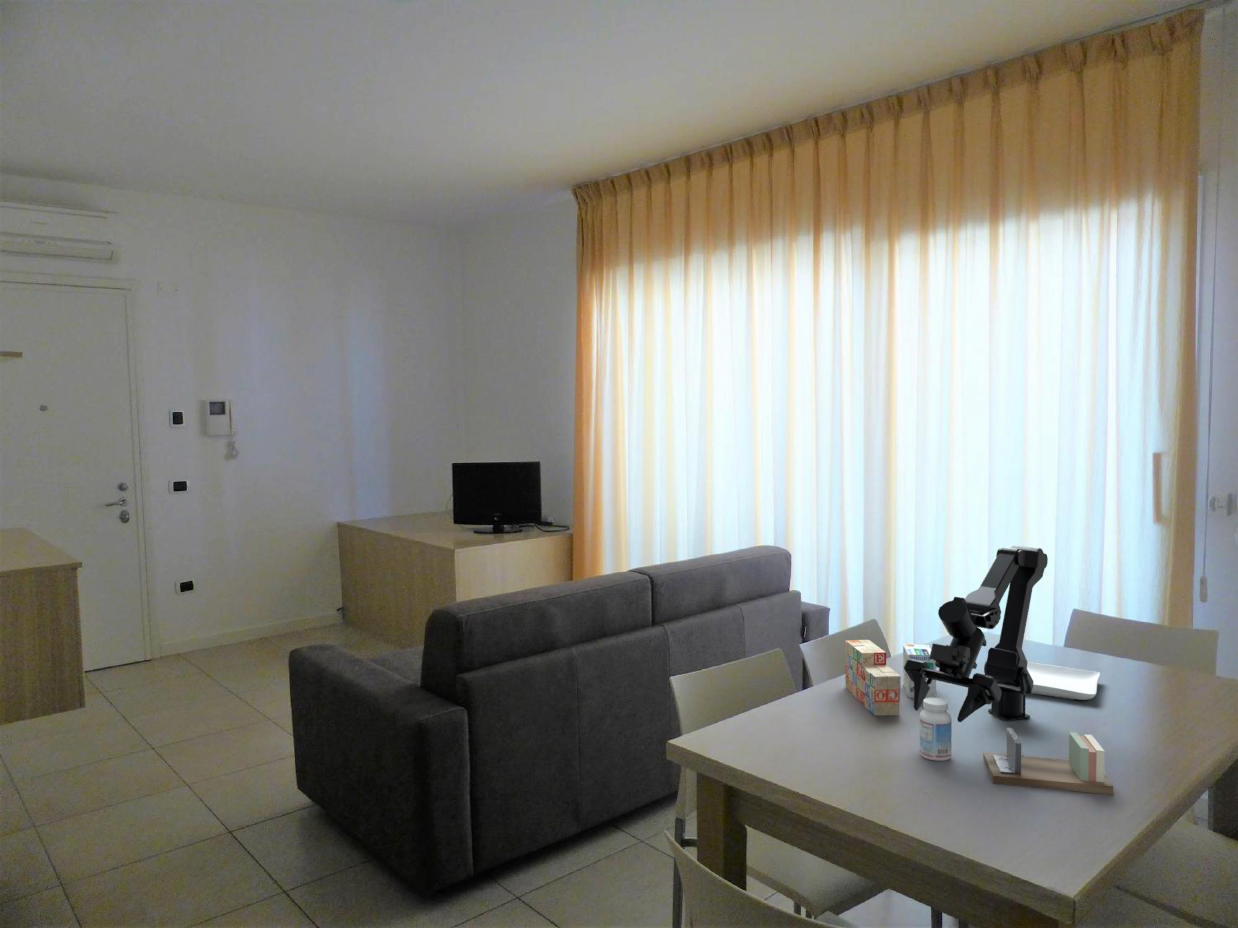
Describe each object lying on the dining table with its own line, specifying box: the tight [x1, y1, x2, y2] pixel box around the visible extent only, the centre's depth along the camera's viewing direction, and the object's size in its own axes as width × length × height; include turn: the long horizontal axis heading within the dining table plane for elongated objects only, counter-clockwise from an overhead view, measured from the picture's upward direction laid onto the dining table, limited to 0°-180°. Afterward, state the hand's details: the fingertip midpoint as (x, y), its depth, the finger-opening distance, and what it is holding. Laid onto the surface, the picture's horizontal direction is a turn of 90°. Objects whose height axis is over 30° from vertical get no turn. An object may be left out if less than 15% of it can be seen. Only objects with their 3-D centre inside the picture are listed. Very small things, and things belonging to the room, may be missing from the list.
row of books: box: [1068, 731, 1106, 782], centre depth 157 cm, size 8×4×6 cm, turn 166°
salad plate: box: [1027, 661, 1101, 701], centre depth 212 cm, size 21×21×3 cm
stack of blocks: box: [844, 639, 902, 716], centre depth 203 cm, size 21×6×12 cm, turn 2°
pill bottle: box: [919, 697, 953, 762], centre depth 169 cm, size 6×6×11 cm
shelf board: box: [982, 752, 1114, 795], centre depth 159 cm, size 11×20×2 cm, turn 76°
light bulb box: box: [902, 643, 937, 699], centre depth 209 cm, size 11×7×11 cm, turn 168°
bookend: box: [993, 727, 1022, 775], centre depth 160 cm, size 8×4×6 cm, turn 166°
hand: (936, 714), depth 169 cm, fingers open, 9 cm apart
